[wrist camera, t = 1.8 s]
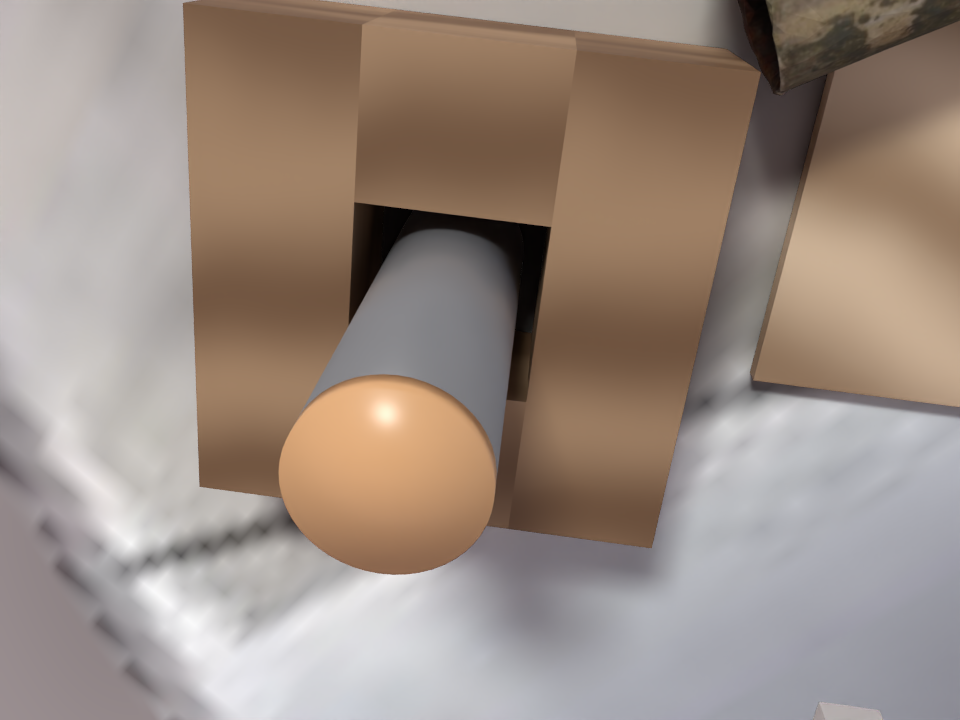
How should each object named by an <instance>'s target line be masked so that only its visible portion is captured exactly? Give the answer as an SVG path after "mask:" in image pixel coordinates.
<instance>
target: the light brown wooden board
mask: <svg viewBox="0 0 960 720" xmlns="http://www.w3.org/2000/svg"><path fill="white" fill-rule="evenodd" d="M750 373H751V376H752V378H753V380H755V381H762V382H770V383H778V384H785V385H793V386H801V387H808V388H816V389H824V390H831V391H839V392H847V393H854V394H862V395H870V396H878V397H885V398H893V399H901V400H908V401H916V402H924V403H931V404H939V405H947V406H954V407H960V21H958V22H955V23H953V24H950V25H948V26H945V27H943V28H940V29H938V30H935V31H933V32H930V33H928V34H925V35H923V36H920V37H918V38H915V39H912V40H910V41H907V42H905V43H902V44H899V45H897V46H894V47H892V48H889V49H887V50H884V51H882V52H879V53H877V54H875V55H872V56H870V57H868V58H865V59H863V60H860V61H858V62H855V63H853V64H851V65H848V66H846V67H843V68H841V69H838V70H836V71H833V72H831V73H828V75H827V79H826V83H825V87H824V91H823V95H822V98H821V102H820V106H819V110H818V114H817V118H816V121H815V125H814V129H813V133H812V137H811V141H810V144H809V148H808V152H807V156H806V160H805V164H804V167H803V171H802V175H801V179H800V183H799V187H798V190H797V194H796V198H795V202H794V206H793V210H792V213H791V217H790V221H789V225H788V229H787V233H786V236H785V240H784V244H783V248H782V252H781V256H780V259H779V263H778V267H777V271H776V275H775V279H774V282H773V286H772V290H771V294H770V298H769V302H768V305H767V309H766V313H765V317H764V321H763V325H762V328H761V332H760V336H759V340H758V344H757V348H756V351H755V355H754V359H753V363H752V367H751V371H750Z"/></svg>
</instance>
